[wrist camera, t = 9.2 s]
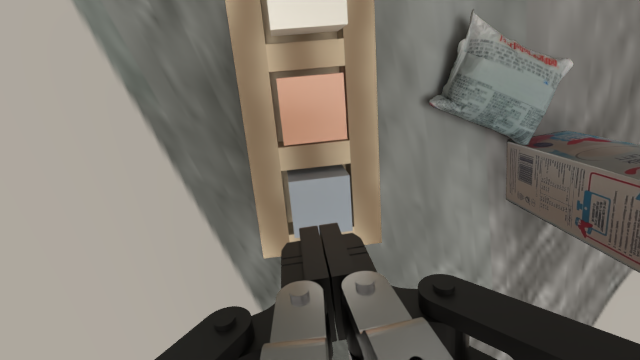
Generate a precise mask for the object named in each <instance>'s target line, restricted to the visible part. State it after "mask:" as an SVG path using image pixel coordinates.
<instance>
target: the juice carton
mask: <svg viewBox="0 0 640 360" xmlns="http://www.w3.org/2000/svg"><path fill="white" fill-rule="evenodd" d="M506 200H508V201H509V202H511V203H513V204H515V205H517V206H519V207H520V208H522V209H524V210H526V211H528V212H530V213H531V214H533V215H535V216H537V217H539V218H540V219H542V220H544V221H546V222H548V223H550V224H551V225H553V226H555V227H557V228H559V229H561V230H562V231H564V232H566V233H568V234H570V235H572V236H573V237H575V238H577V239H579V240H581V241H583V242H584V243H586V244H588V245H590V246H592V247H594V248H595V249H597V250H599V251H601V252H603V253H605V254H606V255H608V256H610V257H612V258H614V259H616V260H617V261H619V262H621V263H623V264H625V265H627V266H628V267H630V268H632V269H634V270H636V271H638V272H640V145H637V144H632V143H627V142H622V141H617V140H612V139H607V138H602V137H597V136H591V135H586V134H581V133H576V132H571V131H562V132H557V133H551V134H545V135H540V136H534V137H532V138H531V140H530V142H529V145H521V144H518V143H516V142H515V141H513V140H512V141H507V181H506Z"/></svg>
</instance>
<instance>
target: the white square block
mask: <svg viewBox="0 0 640 360" xmlns="http://www.w3.org/2000/svg"><path fill="white" fill-rule="evenodd" d="M267 5H268V13H269V22H270V30H271V36H284V35H297V34H310V33H323V32H336V31H339V30H340V29H342V28H343V27H344V26H346V25H347V24H348V16H347V0H267Z"/></svg>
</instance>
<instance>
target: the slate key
mask: <svg viewBox="0 0 640 360" xmlns="http://www.w3.org/2000/svg"><path fill="white" fill-rule="evenodd" d="M287 175H288V184H289V193H290V202H291V210H292V219H293V227H294V236H295V238H300V234H299V228H303V227H310V226H318V230H319V225H323V224H330V223H338V226H339V228H340V231H341V232H347V231H353V226H352V209H351V192H350V175H349V174H348V172H347V171H346V170H345V168H344V167H343V166H342V164H340V165H331V166H322V167H313V168H304V169H295V170H287ZM319 235H320V233H319Z"/></svg>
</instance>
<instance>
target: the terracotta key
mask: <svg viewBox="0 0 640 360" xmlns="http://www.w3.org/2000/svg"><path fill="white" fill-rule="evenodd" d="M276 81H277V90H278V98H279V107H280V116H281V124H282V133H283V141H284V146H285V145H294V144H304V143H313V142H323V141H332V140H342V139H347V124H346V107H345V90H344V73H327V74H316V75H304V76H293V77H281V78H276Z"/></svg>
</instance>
